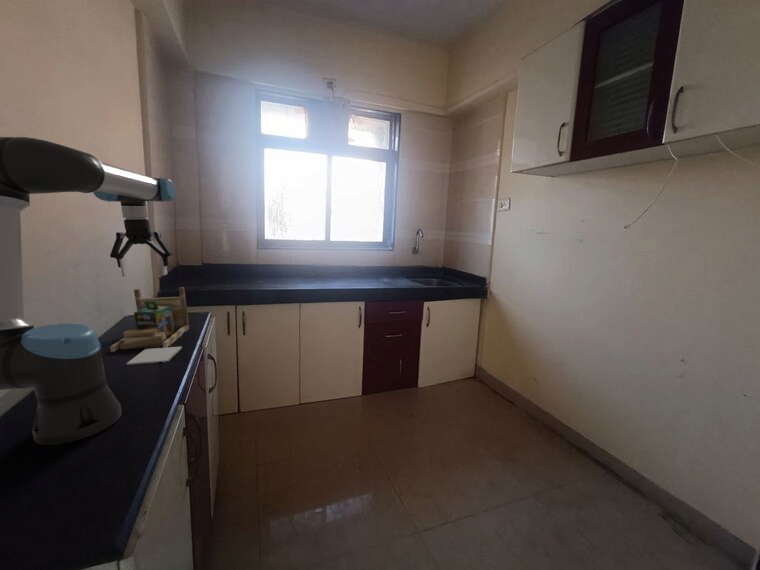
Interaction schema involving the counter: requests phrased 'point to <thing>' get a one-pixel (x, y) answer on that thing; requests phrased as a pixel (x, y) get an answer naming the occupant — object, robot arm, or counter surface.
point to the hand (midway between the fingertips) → (145, 275)
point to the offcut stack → (142, 338)
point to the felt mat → (154, 355)
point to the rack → (178, 314)
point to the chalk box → (155, 318)
